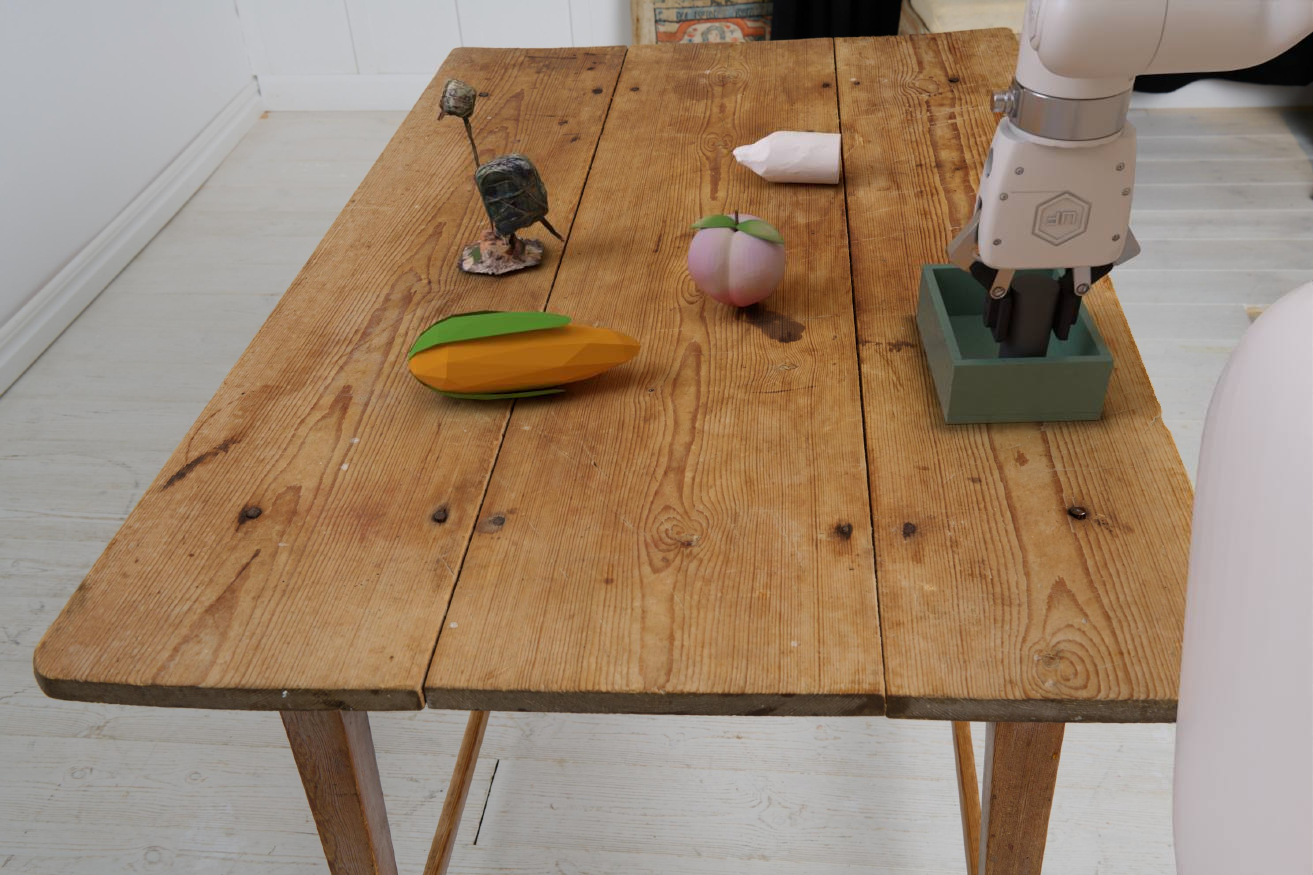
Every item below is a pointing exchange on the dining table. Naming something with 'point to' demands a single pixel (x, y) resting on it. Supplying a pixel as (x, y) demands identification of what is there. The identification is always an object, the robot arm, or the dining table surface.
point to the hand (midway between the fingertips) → (1027, 330)
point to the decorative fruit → (736, 258)
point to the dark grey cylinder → (1030, 316)
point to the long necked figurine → (500, 198)
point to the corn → (513, 353)
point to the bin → (1005, 385)
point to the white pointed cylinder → (794, 157)
